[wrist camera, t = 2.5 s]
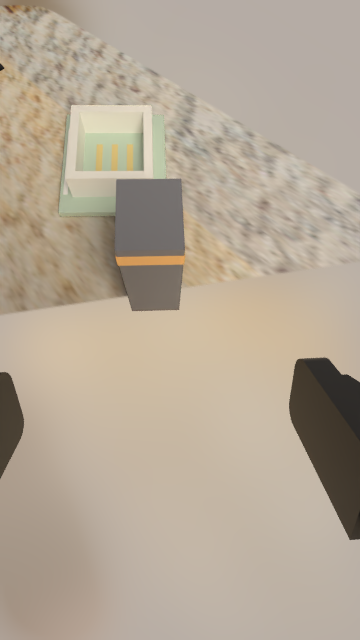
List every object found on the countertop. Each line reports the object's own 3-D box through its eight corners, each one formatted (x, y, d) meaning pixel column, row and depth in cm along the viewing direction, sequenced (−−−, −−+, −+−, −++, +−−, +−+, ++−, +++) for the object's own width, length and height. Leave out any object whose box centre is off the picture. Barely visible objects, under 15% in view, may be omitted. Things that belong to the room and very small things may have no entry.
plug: (131, 311, 28) (113, 251, 19) (131, 258, 30) (115, 178, 20) (179, 310, 28) (185, 250, 19) (177, 257, 30) (181, 178, 20)
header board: (60, 216, 31) (49, 195, 28) (68, 119, 35) (60, 92, 32) (167, 215, 31) (167, 193, 28) (163, 119, 35) (163, 92, 32)
